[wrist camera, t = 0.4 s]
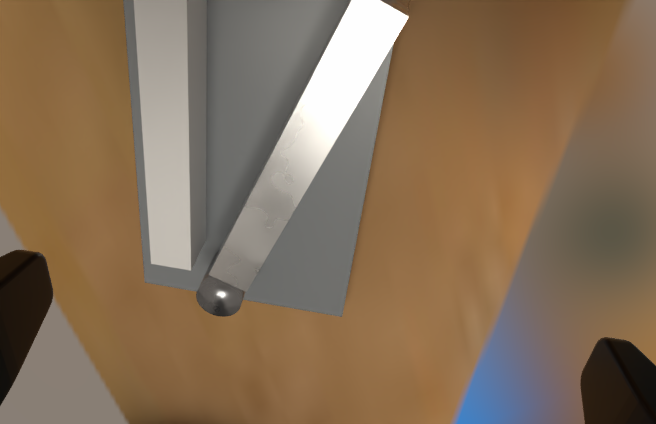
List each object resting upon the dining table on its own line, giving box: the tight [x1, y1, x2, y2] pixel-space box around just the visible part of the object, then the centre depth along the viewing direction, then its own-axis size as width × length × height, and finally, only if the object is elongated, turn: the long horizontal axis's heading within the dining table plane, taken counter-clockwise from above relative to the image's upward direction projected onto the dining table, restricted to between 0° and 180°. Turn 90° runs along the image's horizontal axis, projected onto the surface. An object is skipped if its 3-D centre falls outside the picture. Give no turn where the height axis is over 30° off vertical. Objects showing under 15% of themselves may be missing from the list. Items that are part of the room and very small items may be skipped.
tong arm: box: [196, 0, 409, 316], centre depth 21 cm, size 14×2×2 cm, turn 153°
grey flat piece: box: [123, 0, 394, 317], centre depth 21 cm, size 16×9×3 cm, turn 173°
